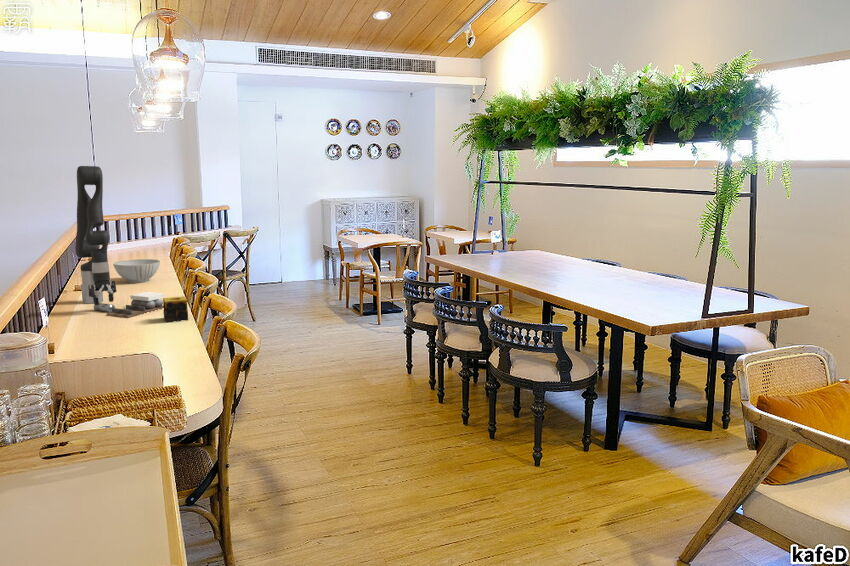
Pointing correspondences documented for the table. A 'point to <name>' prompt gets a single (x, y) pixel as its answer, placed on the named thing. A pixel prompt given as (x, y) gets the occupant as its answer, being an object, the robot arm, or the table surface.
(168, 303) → the black and yellow cube
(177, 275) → the table surface
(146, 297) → the slab
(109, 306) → the roller
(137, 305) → the roller bed
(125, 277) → the decorative bowl
